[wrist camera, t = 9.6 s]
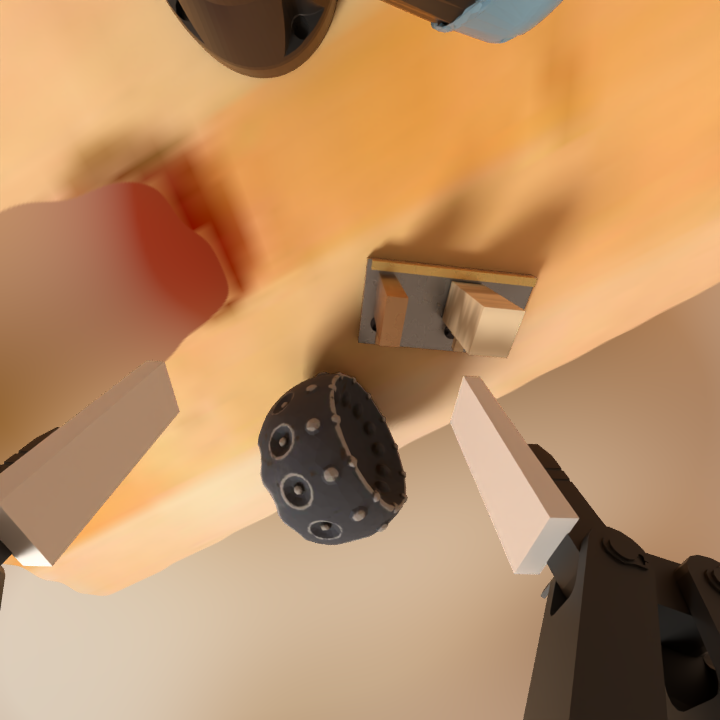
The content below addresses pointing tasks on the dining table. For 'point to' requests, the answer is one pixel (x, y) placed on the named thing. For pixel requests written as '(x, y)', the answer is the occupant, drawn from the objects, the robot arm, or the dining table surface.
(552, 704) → the robot arm
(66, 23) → the dining table surface
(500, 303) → the block
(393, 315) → the grey board with posts
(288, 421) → the dark studded bowl
